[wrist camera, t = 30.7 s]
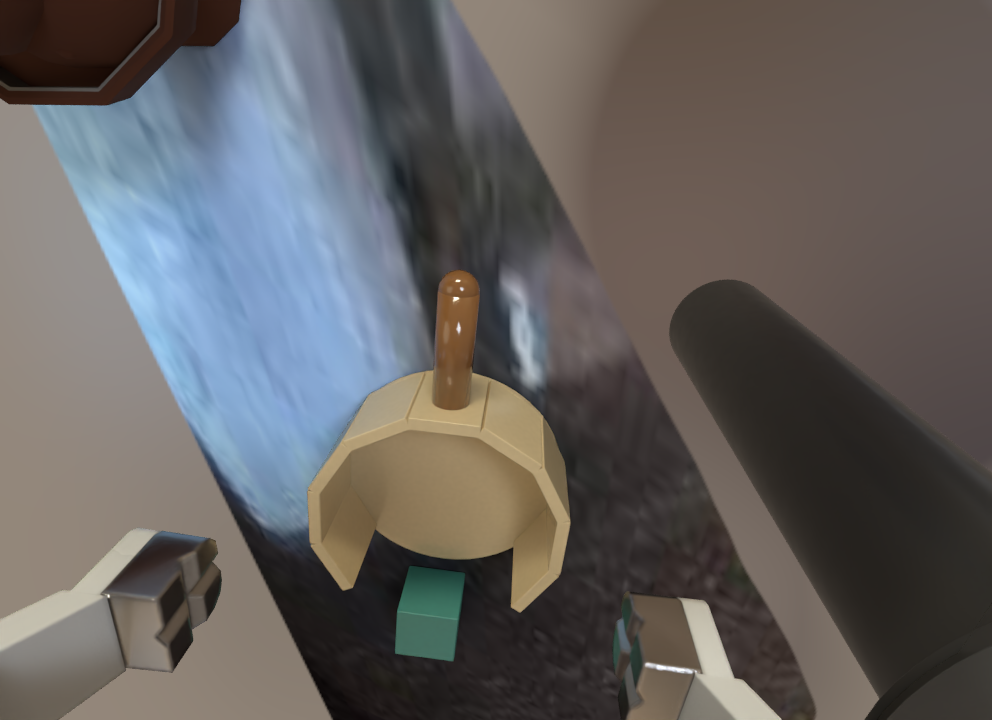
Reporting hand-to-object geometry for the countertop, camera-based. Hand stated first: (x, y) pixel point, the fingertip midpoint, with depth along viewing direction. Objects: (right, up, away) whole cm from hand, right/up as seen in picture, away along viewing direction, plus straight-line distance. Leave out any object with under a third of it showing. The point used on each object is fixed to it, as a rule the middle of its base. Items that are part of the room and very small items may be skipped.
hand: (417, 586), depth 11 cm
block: (-3, -11, +26) cm, 29 cm away
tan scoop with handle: (-1, +1, +23) cm, 23 cm away
